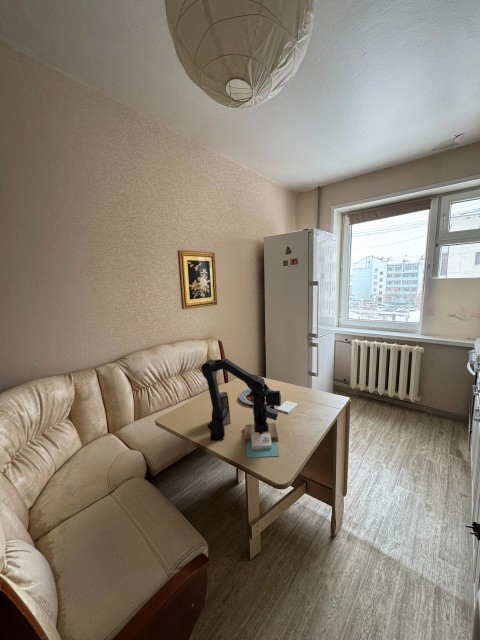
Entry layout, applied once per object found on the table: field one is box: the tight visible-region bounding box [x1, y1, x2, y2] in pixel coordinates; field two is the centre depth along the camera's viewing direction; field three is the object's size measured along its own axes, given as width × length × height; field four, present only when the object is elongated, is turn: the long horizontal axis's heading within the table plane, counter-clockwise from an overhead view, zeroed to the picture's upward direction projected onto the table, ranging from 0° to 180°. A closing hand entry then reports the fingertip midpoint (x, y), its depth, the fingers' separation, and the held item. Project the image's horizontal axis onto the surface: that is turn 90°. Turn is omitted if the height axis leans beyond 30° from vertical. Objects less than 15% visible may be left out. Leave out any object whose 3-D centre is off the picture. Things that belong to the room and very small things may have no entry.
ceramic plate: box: [238, 388, 275, 406], centre depth 163 cm, size 26×26×3 cm
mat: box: [246, 441, 280, 459], centre depth 111 cm, size 14×10×1 cm
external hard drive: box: [275, 400, 299, 415], centre depth 148 cm, size 2×8×12 cm
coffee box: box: [219, 391, 232, 425], centre depth 136 cm, size 9×6×16 cm
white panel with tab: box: [251, 434, 272, 449], centre depth 113 cm, size 9×6×3 cm, turn 89°
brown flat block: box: [244, 422, 279, 444], centre depth 122 cm, size 16×12×2 cm
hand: (261, 434), depth 117 cm, fingers closed
